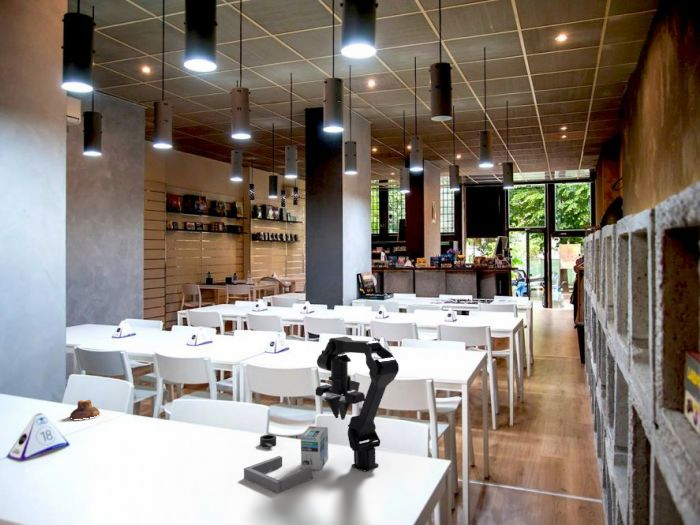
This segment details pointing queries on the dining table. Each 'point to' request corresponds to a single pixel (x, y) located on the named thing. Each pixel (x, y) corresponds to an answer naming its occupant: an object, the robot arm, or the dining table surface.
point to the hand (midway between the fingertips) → (339, 418)
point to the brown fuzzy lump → (84, 410)
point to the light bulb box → (314, 447)
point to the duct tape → (268, 440)
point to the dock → (257, 476)
